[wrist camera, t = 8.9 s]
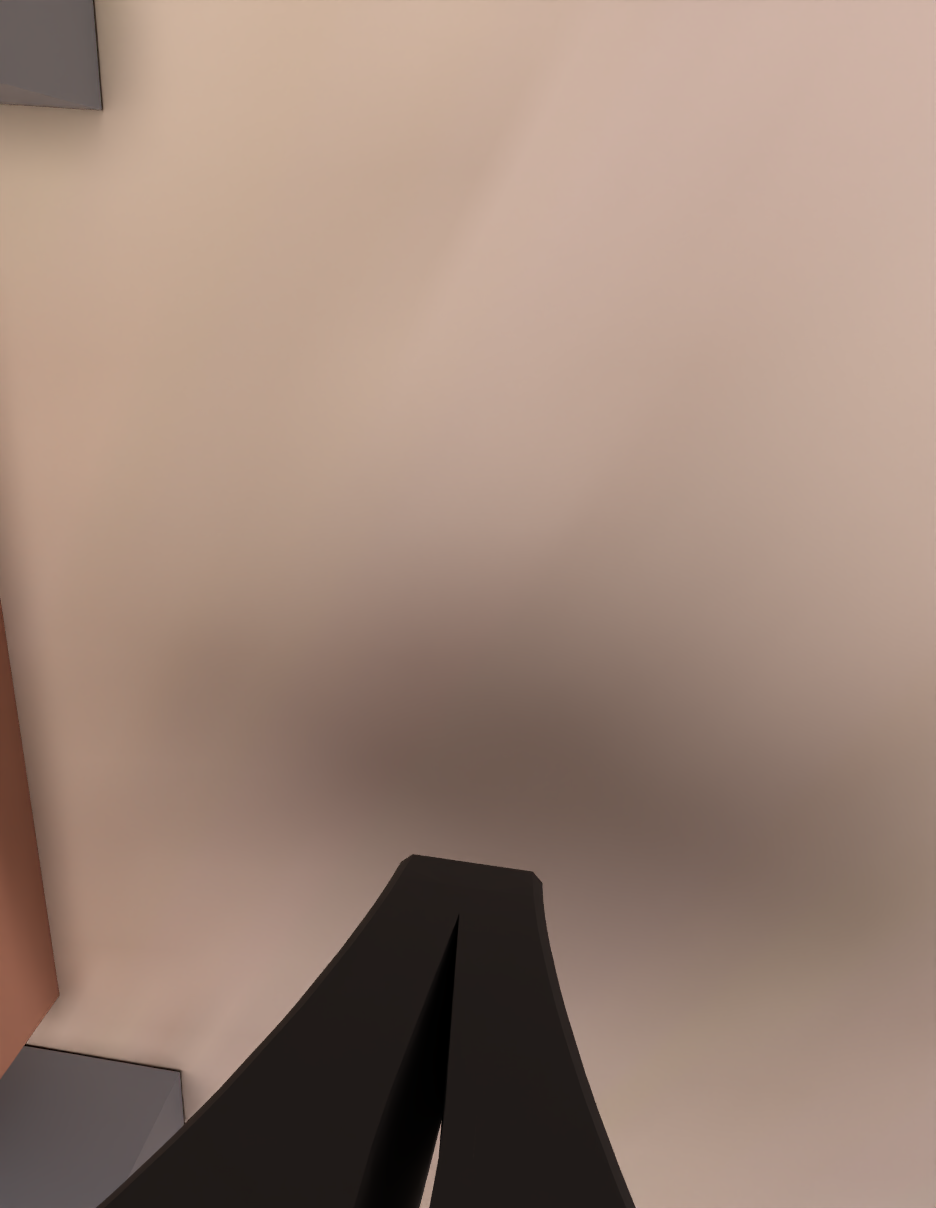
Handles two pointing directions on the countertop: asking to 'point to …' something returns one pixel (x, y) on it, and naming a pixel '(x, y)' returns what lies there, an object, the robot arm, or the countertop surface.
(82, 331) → the countertop surface
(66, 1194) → the dock
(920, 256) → the countertop surface
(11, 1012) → the t block
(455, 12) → the countertop surface
